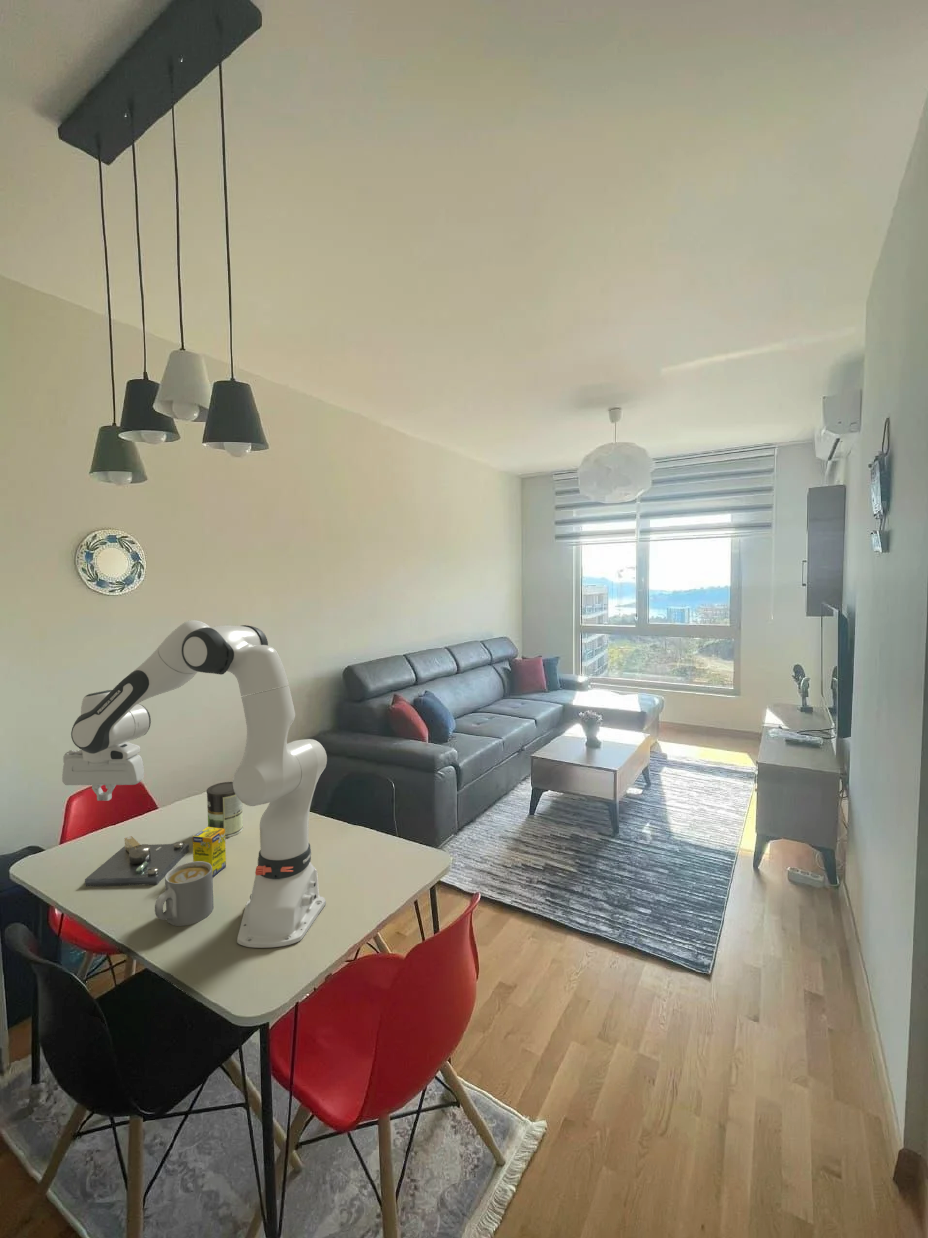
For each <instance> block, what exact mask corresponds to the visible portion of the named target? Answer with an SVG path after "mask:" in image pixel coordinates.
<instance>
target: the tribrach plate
mask: <svg viewBox="0 0 928 1238" xmlns="http://www.w3.org/2000/svg"><path fill="white" fill-rule="evenodd" d="M149 845H150V851H151V858H150V859H149V860H147V861H145V862H143V863H139V864H131V863H130V861H129V852H128V851H127V850H126V849H125V845H124V846H123V847H122V848H120V849H118V851H117V852H116V853H114V854H113V855H112V856H111V857H109V858H108V859H107V860H106V861H105V862H103V864H101V865H100V866H99V867H98V868H97V869H95V870H94V871H93V872H91V874H89V875H88V876H87V877H86V878H85V879H84V881H85V884H84V885H85V887H87V888H88V887H110V886H111V887H115V886H116V887H117V886H119V887H120V886H122V887H123V886H148V885H149V886H150V885H151V886H152V885H153V886H155V885H158V884H159V883H160V882H162V880H164V879H165V876H166V874H167V873H168V872H169V871H170V870H171V869H173V868H175V867H176V866H177V864H178V863H179V862H180V861H181V860H182V859H183V857H185V855H186V854H187V853H188V852H190V843H184V842H183V841H177V842H175V843H166V844H165V843H164V844H162V843H160V844H159V843H158V844H156V843H155V844H149Z"/></svg>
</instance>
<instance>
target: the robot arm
mask: <svg viewBox="0 0 928 1238" xmlns="http://www.w3.org/2000/svg"><path fill="white" fill-rule="evenodd" d="M226 672H229V673H230V674H232V675H234V677H235V678H236V679H237V680H236V681H237V682H238V687H239V692H240V696H241V697H240V698H241V702H242V708H243V712H244V718H245V724H246V743H245V747H244V748H245V749H244V752H243V757H242V759H241V761H240V763H239V764H238V767H237V768H236V770H235V772H234V774H233V777H232V782H233V789H234V792H235V794H236V796H237V797H238V799H239V800H240V801H241V802H242V804H244V805H245V806H247V807H248V806H249V807H256V806H261V805H266V804H268V803H269V804H268V805H267V807H266V809H265V811H264V812H263V813H262V814H261V815H262V816H261V817H260V821H259V844H260V845H259V848H260V849H259V851H258V858H257V866H256V867H255V872H254V873H255V874H254V875H255V876H254V881H253V886H252V891H251V893H250V895H249V900H247V902H246V904H245V907H244V911H243V915H242V918H241V922H240V926H239V930H238V934H237V938H236V939H237V941H236V942H237V944H239V945H241V946H243V947H247V948H256V949H257V948H259V949H260V948H262V949H263V948H278V947H286V946H289V945H293V944H296V943H299V942H301V940H302V939H303V938H304V937H305V935H306V934H307V932H308V931H309V929H310V928H311V926H312V925H313V924H314V922H315V921H316V919H317V917H318V916H319V914H320V913H321V912H322V910H323V908H324V907H325V905H326V903H327V902H326V898H325V897H324V896H322V895H320V892H319V891H320V890H319V877H318V875H319V874H318V870H317V869H316V867H315V865H313V864H312V862H311V860H312V856H311V855H312V848H311V844H310V843H309V842H310V841H309V817H310V811H311V805H312V800H313V798H314V793H315V790H316V787H317V783H318V781H319V779H320V777H321V774H322V773H324V770H325V769H326V767H327V762H328V756H327V751H326V750H325V747H323V745H322V744H321V742H319V741H317V740H316V739H313V738H305V739H297V740H293V741H290V742H288V736H289V731H290V728H291V727H292V724H293V723H294V721H295V719H296V710H295V706H294V701H293V697H292V691H291V689H290V688H291V687H290V684H289V683H290V682H289V680H288V676H287V675H288V674H287V672H286V669H285V666H284V664H283V661H282V659H281V656H280V655H279V653H278V651H277V649H275V648H274V647H273V646H270V645H269V642H268V638H267V636H266V634H265V633H264V631H262V630H261V629H260V628H258V627H255V626H252V625H249V624H248V625H247V624H245V625H243V624H242V625H229V624H224V625H217V626H215V625H214V626H211V625H209V624H207V623H205V622H204V621H201V620H197V619H192V620H191V619H190V620H186V621H184V622H183V623H181V624H180V625H179V626H177V627H176V628H175V629H174V630H173V631H172V632H171V633H170V634H169V635H167V637H166V638H165V639H164V640H163V641H162V642H161V643H160V645H158V647H157V648H156V649H155V651H153V652H152V653H151V654H150V656H149V657H148V658H147V659H145V661H144V662H142V663H141V664H140V665H139V666H138V667H137V668H135V669H134V670H133V671H132V672H130V673H129V674H128V675H127V676H126V677H125V678H123V679H122V680H121V681H120V682H119V683H118V684H117V685H115V686H114V687H113V689H107V690H103V691H96V692H93V693H92V692H91V693H88V694H86V695H85V696H84V697H83V699H82V701H81V706H80V715H79V716H77V718H76V720H74V723H73V725H72V728H71V732H70V735H71V736H70V737H71V740H72V743H73V744H74V746H75V747H77V748H79V749H78V750H75V749H71V750H68V751H66V752H64V753H65V754H64V755H63V758H62V760H63V766H62V775H61V776H62V777H61V781H62V783H63V785H64V786H91V789H92V791H93V792H94V794H96V800H97V801H98V802H99V801H103V802H104V801H110V800H112V797H113V795H112V794H113V792H114V789H115V787H116V786H134V785H137V784H139V783H140V782H142V781H143V779H144V778H145V767H144V761H143V758H142V756H141V755H139V753H141V746H140V745H139V744H135V743H132V742H131V741H134V740H137V739H138V738H141V737H143V736H145V735H146V734H147V733H148V732H149V730H150V728H151V725H152V724H151V722H152V721H151V714H150V712H149V710H148V709H147V708H146V706H144V705H142V704H140V703H142V702H144V701H145V700H147V699H150V698H153V697H156V696H159V695H161V694H165V693H167V692H170V691H175V690H177V689H179V688H181V687H182V686H184V685H185V684H187V683H188V682H190V680H191V679H193V678H194V677H195V676H196V675H197V673H202V674H203V673H205V674H213V675H214V674H215V675H224V674H225V673H226ZM129 741H130V742H129ZM102 786H105V789H107V790H106V791H103V789H102Z"/></svg>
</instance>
